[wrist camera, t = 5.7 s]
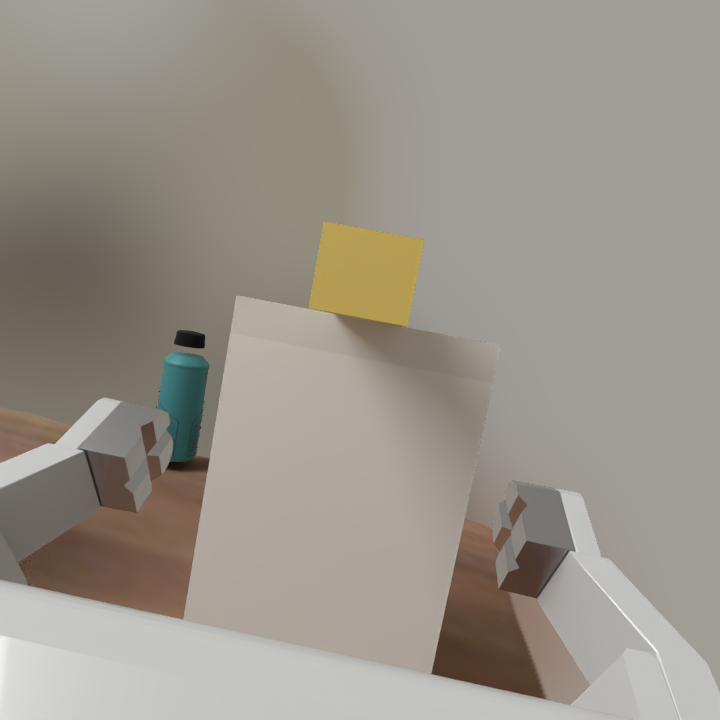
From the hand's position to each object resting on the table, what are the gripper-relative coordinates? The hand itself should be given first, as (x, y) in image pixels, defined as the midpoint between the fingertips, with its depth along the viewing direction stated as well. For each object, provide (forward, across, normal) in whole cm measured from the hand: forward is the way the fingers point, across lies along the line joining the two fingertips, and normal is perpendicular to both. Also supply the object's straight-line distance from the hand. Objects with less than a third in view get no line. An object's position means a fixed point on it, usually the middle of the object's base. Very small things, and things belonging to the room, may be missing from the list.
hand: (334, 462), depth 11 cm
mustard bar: (+16, 0, -5) cm, 17 cm away
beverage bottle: (+36, -27, -47) cm, 65 cm away
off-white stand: (+6, 0, -30) cm, 30 cm away
